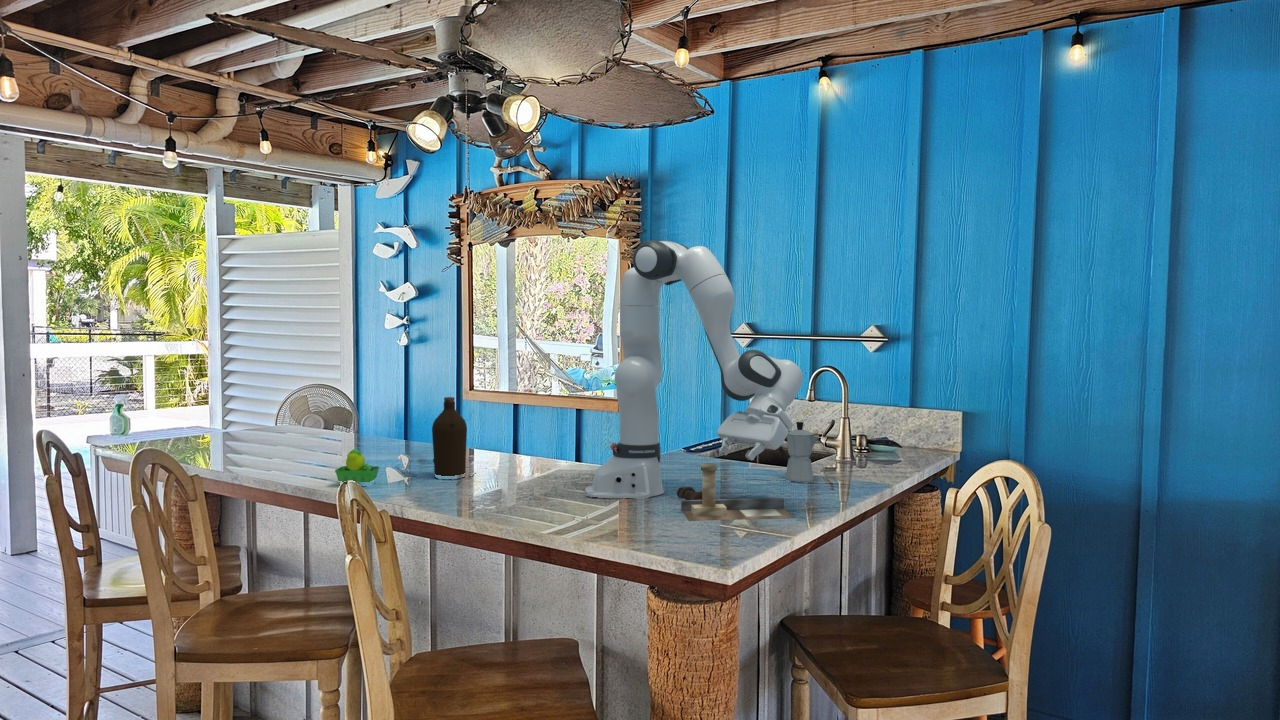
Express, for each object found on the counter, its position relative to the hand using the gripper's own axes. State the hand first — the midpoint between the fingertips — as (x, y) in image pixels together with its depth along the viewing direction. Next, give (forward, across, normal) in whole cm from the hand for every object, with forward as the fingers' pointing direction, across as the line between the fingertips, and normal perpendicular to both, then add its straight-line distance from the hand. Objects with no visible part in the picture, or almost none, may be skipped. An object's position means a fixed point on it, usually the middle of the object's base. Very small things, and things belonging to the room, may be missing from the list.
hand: (735, 456), depth 208 cm
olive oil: (+36, -91, -15) cm, 99 cm away
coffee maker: (-23, -23, +44) cm, 55 cm away
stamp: (+16, 0, +3) cm, 16 cm away
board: (+12, +3, +9) cm, 16 cm away
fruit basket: (+55, -95, -34) cm, 115 cm away
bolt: (+12, -16, +10) cm, 22 cm away
